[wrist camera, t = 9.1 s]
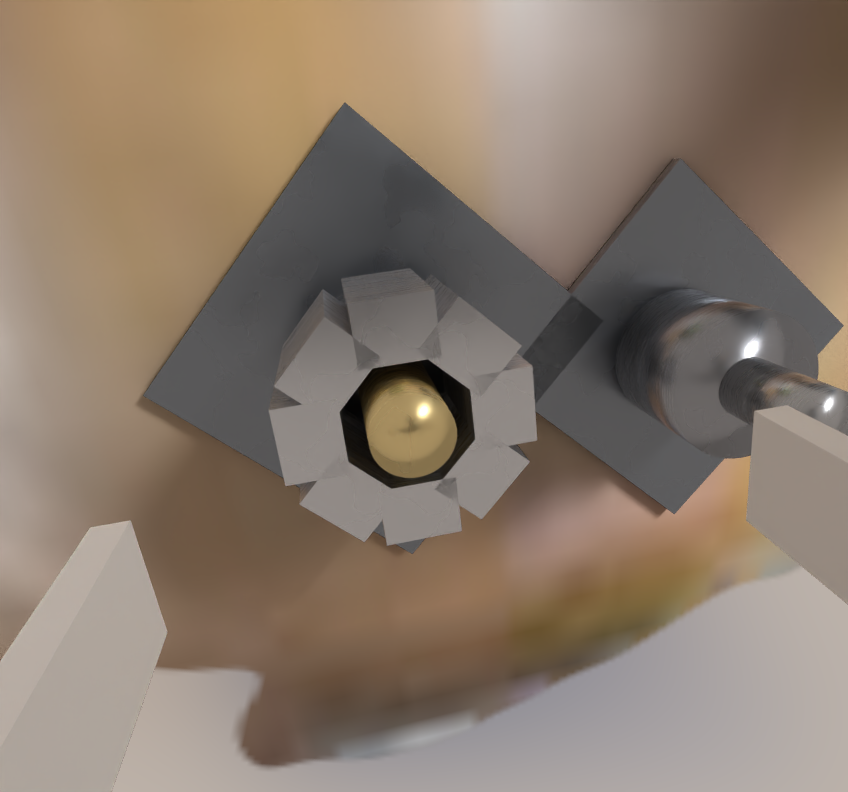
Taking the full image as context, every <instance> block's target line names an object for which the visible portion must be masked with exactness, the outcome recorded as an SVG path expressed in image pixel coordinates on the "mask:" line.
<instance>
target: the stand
mask: <svg viewBox="0 0 848 792" xmlns="http://www.w3.org/2000/svg"><path fill="white" fill-rule="evenodd" d="M568 292H570V293H571V294H572V297H571V298H572V299H573V301H574V299H575V298H576V300H575V301H576V302H575V301H574V302H575V303H578V302H579V301H580V302H579V303H583V304H584V305H582V304H579V303H578V305H576V304H575V303H573V301H572V300H571V298H570V301H568V304H570V303H569V302H571V301H572V302H571V303H572V304H573V305H572V304H570V305H568V306H567V304H565V303H566V302H567V301H566V302H565V303H564V304H565V305H566V308H567V307H569V306H570V307H571V309H569V308H570V307H569V308H567V309H568V313H567V312H565V311H567V309H565V305H564V304H563V305H564V306H562V308H564V312H565V316H564V314H563V311H561V310H560V309H559V311H558V312H559V313H558V312H557V313H558V315H559V314H560V312H561V313H562V314H563V316H564V318H565V320H566V319H567V316H566V314H567V315H568V318H569V317H573V318H574V317H575V316H576V315H577V314H576V315H575V313H576V312H577V313H578V311H576V310H574V311H576V312H575V313H574V312H573V311H572V312H573V315H574V316H572V314H571V313H572V312H570V313H569V310H572V309H573V308H574V307H575V306H578V308H576V307H575V309H578V310H579V309H580V308H579V307H580V306H583V307H584V306H586V307H584V308H583V307H581V308H583V309H584V310H585V311H586V312H585V311H583V310H581V309H580V312H581V313H582V311H583V313H582V315H584V318H585V317H586V316H587V317H588V316H589V315H590V314H589V313H588V312H589V311H588V310H590V311H591V312H592V313H593V315H592V313H591V312H590V313H591V315H590V316H589V318H588V319H587V320H588V321H590V322H591V323H592V321H593V320H591V319H590V317H591V318H592V319H594V321H597V320H595V318H593V317H597V318H596V319H598V320H600V319H601V320H600V321H599V323H601V324H600V326H598V325H599V323H598V325H597V324H596V323H597V322H596V323H595V324H594V321H593V323H592V324H593V326H594V328H596V329H594V328H593V327H592V325H590V324H591V323H590V324H589V323H588V321H587V323H586V321H585V319H586V318H585V319H584V318H582V317H583V316H582V317H581V316H580V314H581V313H580V312H579V313H578V315H577V316H576V317H577V318H578V316H579V318H578V319H577V318H576V317H575V318H576V319H577V320H578V321H576V322H579V324H578V323H576V322H575V324H576V325H577V326H578V325H579V326H580V328H581V327H583V326H584V327H586V328H587V327H588V326H586V324H588V325H590V326H591V327H590V326H589V327H588V328H587V330H588V329H589V328H591V329H592V332H591V329H589V330H588V332H587V330H586V328H585V330H586V332H585V333H583V332H584V331H585V330H583V329H584V327H583V329H581V330H582V331H580V335H581V334H582V335H583V334H585V335H586V336H588V340H587V339H586V338H585V336H584V335H583V336H580V335H579V333H578V332H579V330H580V328H577V327H574V329H575V328H576V329H575V330H576V331H571V330H570V329H572V328H573V327H571V328H570V329H566V328H567V326H568V327H570V326H569V324H570V325H571V324H572V325H573V326H576V325H575V324H573V323H574V322H573V323H572V322H571V321H570V320H571V319H570V318H569V319H567V320H569V323H568V321H566V324H567V326H566V325H565V324H562V321H560V320H562V318H563V317H561V316H560V315H562V314H560V315H559V316H558V315H555V316H558V317H561V319H560V318H559V319H560V320H559V319H558V317H556V318H555V319H554V318H552V320H551V321H550V323H551V324H550V323H549V324H548V325H550V326H551V325H552V326H551V329H550V326H549V327H548V325H547V327H548V328H549V329H548V328H547V327H546V328H547V329H546V328H545V329H546V331H547V332H546V333H545V331H543V332H542V333H540V334H541V335H540V336H541V337H542V335H543V333H544V334H546V335H547V336H546V337H544V336H545V335H543V338H546V339H547V338H548V336H549V335H550V336H551V335H552V336H553V338H552V337H550V336H549V337H550V338H548V339H549V342H548V340H546V339H545V341H546V344H547V345H548V346H550V347H552V346H553V345H550V344H553V343H551V342H553V341H554V340H553V341H551V340H552V339H555V337H556V336H557V337H559V339H560V338H561V339H560V340H558V341H557V339H555V340H556V341H557V342H559V341H560V344H561V342H562V340H563V339H564V340H565V343H567V342H568V343H567V344H569V345H570V343H569V342H571V341H573V344H574V343H575V340H576V339H578V338H575V336H576V335H575V334H577V336H580V337H581V338H582V337H584V338H582V339H581V338H579V339H578V341H577V340H576V341H577V342H579V341H580V339H581V342H583V343H584V342H585V340H587V341H586V342H585V344H582V343H581V344H580V343H579V345H581V347H582V348H580V346H579V345H578V343H576V344H575V345H576V346H577V345H578V346H577V347H575V346H573V344H571V345H572V346H573V348H572V349H570V348H571V347H572V346H571V345H570V346H569V345H566V344H565V345H564V346H565V347H564V346H563V344H564V343H563V342H564V340H563V342H562V343H563V344H561V345H562V346H561V345H560V346H561V347H562V349H561V350H560V351H561V352H560V351H559V350H558V351H559V353H562V351H564V350H565V351H566V350H568V351H569V349H570V350H571V351H569V352H568V351H566V353H569V354H570V355H569V354H568V355H569V356H565V355H566V353H564V354H563V355H564V356H565V358H567V357H568V358H567V359H569V357H570V356H571V357H570V358H571V359H572V360H570V359H569V360H570V361H568V362H567V360H565V358H564V359H563V358H562V357H564V356H563V355H562V354H561V355H560V354H558V352H556V351H557V349H560V347H559V346H558V344H559V343H558V344H557V343H556V341H555V343H554V344H556V346H558V347H557V348H556V347H555V346H554V347H555V353H556V354H557V356H560V357H561V356H562V357H561V358H562V359H563V360H564V362H565V363H566V364H565V365H564V363H562V362H561V361H560V360H562V359H560V360H558V358H560V357H557V356H554V359H553V357H551V356H550V355H549V353H550V352H551V353H552V354H553V355H555V353H554V352H552V351H553V350H554V349H553V348H554V347H553V348H552V349H553V350H552V349H551V348H549V347H548V349H550V350H548V349H545V350H547V351H545V350H544V349H543V347H542V346H543V345H544V348H545V346H546V344H545V341H544V343H543V340H544V339H543V338H540V337H539V338H540V341H541V342H540V343H543V345H542V344H541V346H540V343H538V341H539V338H538V337H537V338H536V339H537V340H536V339H535V341H534V342H535V343H536V342H537V343H538V344H536V345H535V343H534V344H533V343H532V346H530V347H529V348H531V347H533V346H534V345H535V346H536V347H537V345H539V346H540V347H541V350H539V349H540V347H539V346H538V347H539V349H538V351H539V352H540V353H539V352H538V351H536V350H535V349H534V347H533V348H532V349H531V350H530V349H529V348H528V349H527V350H530V351H531V352H530V351H528V352H527V351H526V357H525V354H524V356H523V357H524V359H525V360H526V358H527V359H529V358H528V357H527V356H528V355H529V354H527V353H530V354H531V353H532V350H534V351H536V352H537V353H536V352H535V353H536V356H537V357H540V358H541V357H543V356H542V355H543V352H542V351H543V350H544V351H545V352H547V354H546V353H545V355H544V357H543V359H542V358H541V361H542V362H543V361H544V362H545V363H544V362H543V364H544V365H543V364H542V362H541V361H540V358H539V359H538V358H535V355H533V354H534V352H533V353H532V354H531V355H533V356H532V357H534V358H535V359H536V361H534V360H532V359H534V358H532V359H531V361H529V360H527V362H529V364H530V362H531V363H532V362H533V364H534V363H535V362H537V364H538V362H539V363H540V364H542V366H543V367H544V366H545V364H546V365H547V364H548V363H549V361H550V359H549V358H548V356H546V355H549V356H550V358H551V362H550V365H549V364H548V365H547V367H548V366H549V367H548V370H549V371H550V372H549V371H548V370H547V367H546V369H544V368H545V367H544V368H543V367H542V366H541V368H543V369H544V370H545V371H544V370H543V369H542V370H541V368H539V367H538V365H537V364H536V363H535V365H537V367H536V366H535V365H533V364H531V365H532V366H533V368H534V370H535V368H536V369H537V372H538V373H539V372H540V371H538V369H540V370H541V377H540V376H539V377H540V379H539V377H538V373H535V372H536V371H535V372H534V370H533V374H534V373H535V375H536V376H537V378H538V380H537V381H536V383H537V382H538V383H537V384H539V382H540V381H542V382H540V384H541V383H543V384H544V383H545V382H543V380H542V379H543V378H544V377H543V378H542V376H544V375H545V374H546V376H548V377H549V375H548V374H550V375H551V378H552V377H553V379H555V381H554V380H553V379H552V380H553V381H554V382H553V381H552V380H551V378H547V377H546V376H545V377H546V378H547V379H550V380H544V381H546V382H547V383H549V382H548V381H551V382H552V384H551V382H550V383H549V386H550V387H549V388H547V387H548V386H546V385H548V384H547V383H545V387H544V386H539V385H540V384H539V385H536V384H534V386H536V387H535V388H534V389H536V388H537V389H536V390H540V389H541V390H542V388H541V387H543V389H544V392H545V393H544V392H543V391H541V390H540V391H541V394H542V396H541V395H540V393H539V392H538V391H534V392H535V394H536V396H537V395H540V396H539V397H538V396H537V397H536V396H535V395H534V396H535V398H536V399H537V400H536V399H535V400H536V401H537V403H536V402H535V403H536V404H535V411H536V412H537V413H538V414H540V415H541V416H542V417H544V418H545V419H546V420H548V421H549V422H551V423H552V424H553V425H555V426H556V427H557V428H559V429H560V430H561V431H563V432H564V433H565V434H567V435H568V436H569V437H571V438H572V439H573V440H575V441H576V442H578V443H579V444H580V445H582V446H583V447H584V448H586V449H587V450H588V451H590V452H591V453H592V454H594V455H595V456H596V457H598V458H599V459H600V460H602V461H603V462H605V463H606V464H607V465H609V466H610V467H611V468H613V469H614V470H615V471H617V472H618V473H619V474H621V475H622V476H623V477H625V478H626V479H628V480H629V481H630V482H632V483H633V484H634V485H636V486H637V487H638V488H640V489H641V490H642V491H644V492H645V493H646V494H648V495H649V496H650V497H652V498H653V499H655V500H656V501H657V502H659V503H660V504H661V505H663V506H664V507H665V508H667V509H668V510H669V511H671V512H672V513H673V514H675V513H676V512H677V511H678V509H679V508H680V507H681V506H682V505H683V504H684V503H685V502H686V501H687V499H688V498H689V497H690V496H691V495H692V494H693V493H694V492H695V491H696V489H697V488H698V487H699V486H700V485H701V484H702V483H703V482H704V481H705V479H706V478H707V477H708V476H709V475H710V474H711V473H712V472H713V471H714V469H715V468H716V467H717V466H718V465H719V464H720V463H721V462H722V461H723V459H724V458H741V457H746V456H750V455H751V448H752V434H753V420H754V411H757V410H763V409H768V408H774V407H780V406H785V405H788V406H790V407H792V408H794V409H796V410H798V411H800V412H802V413H804V414H806V415H807V416H809V417H811V418H813V419H815V420H817V421H819V422H821V423H823V424H825V425H827V426H829V427H831V428H833V429H835V430H837V431H839V432H841V433H843V434H845V435H847V436H848V392H846V391H844V390H841V389H839V388H836V387H834V386H831V385H829V384H826V383H823V382H821V381H818V380H817V378H818V356H817V355H818V354H819V353H820V352H821V350H822V349H823V348H824V347H825V346H826V345H827V344H828V343H829V342H830V340H831V339H832V338H833V337H834V336H835V335H836V334H837V333H838V332H839V330H840V329H841V328H842V327H843V326H844V325H843V324H842V323H841V322H840V321H839V320H838V319H837V318H836V317H835V316H834V315H833V314H832V313H831V312H830V311H829V310H828V309H827V308H826V307H825V306H824V305H823V304H822V303H821V302H820V301H819V300H818V299H817V298H816V297H815V296H814V295H813V294H812V293H811V292H810V291H809V290H808V289H807V288H806V287H805V285H804V284H803V283H802V282H801V281H800V280H799V279H798V278H797V277H796V276H795V275H794V274H793V273H792V272H791V271H790V270H789V269H788V268H787V267H786V266H785V265H784V264H783V263H782V262H781V261H780V260H779V259H778V258H777V257H776V256H775V255H774V254H773V253H772V252H771V251H770V250H769V249H768V248H767V247H766V245H765V244H764V243H763V242H762V241H761V240H760V239H759V238H758V237H757V236H756V235H755V234H754V233H753V232H752V231H751V230H750V229H749V228H748V227H747V226H746V225H745V224H744V223H743V222H742V221H741V220H740V219H739V218H738V217H737V216H736V215H735V214H734V213H733V212H732V211H731V210H730V209H729V208H728V206H727V205H726V204H725V203H724V202H723V201H722V200H721V199H720V198H719V197H718V196H717V195H716V194H715V193H714V192H713V191H712V190H711V189H710V188H709V187H708V186H707V185H706V184H705V183H704V182H703V181H702V180H701V179H700V178H699V177H698V176H697V175H696V174H695V173H694V172H693V171H692V170H691V169H690V168H689V166H688V165H687V164H686V163H685V162H684V161H683V160H682V159H681V158H680V159H673V160H672V161H671V162H670V163H669V165H668V166H667V167H666V168H665V170H664V171H663V172H662V173H661V175H660V176H659V177H658V178H657V180H656V181H655V182H654V183H653V185H652V186H651V187H650V188H649V190H648V191H647V192H646V193H645V195H644V196H643V197H642V198H641V200H640V201H639V202H638V203H637V205H636V206H635V207H634V208H633V210H632V211H631V212H630V213H629V215H628V216H627V217H626V218H625V220H624V221H623V222H622V223H621V225H620V226H619V227H618V228H617V230H616V231H615V232H614V233H613V235H612V236H611V237H610V238H609V240H608V241H607V242H606V243H605V245H604V246H603V247H602V248H601V250H600V251H599V252H598V253H597V255H596V256H595V257H594V258H593V260H592V261H591V262H590V263H589V265H588V266H587V267H586V268H585V270H584V271H583V272H582V273H581V275H580V276H579V277H578V278H577V280H576V281H575V282H574V283H573V285H572V286H571V287H570V288H569V290H568ZM568 299H569V298H568ZM577 300H579V301H577ZM574 304H575V305H574ZM571 305H572V306H574V307H573V308H572V306H571ZM585 308H588V309H587V310H586V309H585ZM584 312H585V313H588V315H586V314H585V313H584ZM570 314H571V315H570ZM594 314H595V316H594ZM555 316H554V317H555ZM592 316H593V317H592ZM598 317H599V318H600V319H599V318H598ZM573 318H572V320H573ZM580 318H581V319H583V320H582V321H583V322H584V323H582V322H581V321H579V320H580ZM553 319H554V320H553ZM556 319H557V321H558V322H559V324H558V323H557V322H556V323H555V321H556ZM576 319H574V320H573V321H575V320H576ZM589 319H590V320H589ZM602 320H603V321H602ZM553 321H554V323H555V324H557V326H558V325H560V326H558V327H559V329H561V330H560V331H562V332H560V331H559V329H558V330H557V327H556V326H555V324H554V323H552V322H553ZM563 321H564V319H563ZM580 322H581V323H582V324H580ZM560 323H561V324H562V325H563V327H564V329H565V331H566V330H567V332H569V331H570V332H569V334H570V336H571V333H572V332H573V333H572V338H573V339H574V338H575V339H574V340H571V337H570V336H569V337H566V336H567V335H569V334H567V333H565V331H563V330H564V329H563V328H562V327H561V326H562V325H561V324H560ZM563 323H565V322H563ZM585 323H586V324H585ZM553 324H554V326H555V327H556V328H555V327H554V326H553ZM583 324H585V325H583ZM581 325H583V326H581ZM595 325H597V326H596V327H595ZM565 326H566V328H565ZM579 326H578V327H579ZM552 327H554V329H555V331H557V332H558V331H559V334H560V333H561V334H560V335H562V336H561V337H560V336H558V333H557V335H556V333H555V332H554V331H553V329H552ZM560 327H561V328H560ZM562 329H563V330H562ZM543 330H544V329H543ZM549 330H550V332H549V335H548V334H547V333H548V331H549ZM572 330H573V329H572ZM577 330H578V332H577ZM593 330H594V331H595V332H594V331H593ZM551 331H552V333H554V335H553V334H552V333H551ZM575 332H576V333H575ZM589 332H591V333H590V334H592V336H590V337H589V335H588V334H589ZM562 333H565V334H566V336H565V335H564V334H562ZM574 333H575V334H574ZM573 334H574V336H573ZM555 335H556V336H555ZM563 335H564V336H563ZM554 336H555V337H554ZM577 336H576V337H577ZM562 337H563V339H562ZM551 338H552V339H551ZM567 338H570V339H569V340H568V339H567ZM566 339H567V340H566ZM583 339H584V340H583ZM566 341H567V342H566ZM548 343H550V344H548ZM582 345H583V346H582ZM566 346H569V347H567V348H566ZM536 347H535V348H536ZM538 347H537V348H538ZM537 348H536V349H537ZM546 348H547V346H546ZM576 348H578V349H579V351H578V349H576ZM563 349H564V350H563ZM573 349H574V352H576V351H577V352H578V353H577V352H576V353H577V354H576V355H575V353H574V352H573ZM575 349H576V351H575ZM549 351H550V352H549ZM565 351H564V352H565ZM538 353H539V354H542V355H541V356H539V355H538ZM551 353H550V354H551ZM571 353H572V354H571ZM531 355H530V356H531ZM530 356H529V357H530ZM545 357H547V358H548V359H547V360H548V363H547V361H545V360H544V359H546V358H545ZM556 357H557V362H556V363H555V361H556V359H555V358H556ZM572 357H573V358H572ZM530 358H531V357H530ZM537 360H539V361H537ZM552 360H554V362H553V364H554V363H555V364H558V365H559V366H558V367H559V368H560V369H561V368H562V367H561V366H563V368H562V369H561V370H560V369H559V370H558V367H557V366H556V365H555V366H556V367H557V368H556V369H554V368H552V367H555V366H553V364H552ZM563 360H562V361H563ZM558 361H559V362H560V364H559V362H558ZM561 363H562V365H561ZM567 363H568V364H567ZM551 365H552V366H551ZM560 365H561V366H560ZM539 366H540V365H539ZM550 366H551V367H550ZM565 366H566V367H565ZM549 368H550V369H551V368H552V369H551V370H550V369H549ZM564 368H565V369H564ZM556 370H557V371H558V372H559V371H562V370H563V371H562V372H559V373H560V375H559V376H558V375H557V374H558V372H557V371H556ZM546 371H547V372H546ZM551 371H554V372H555V371H556V373H557V374H556V373H555V374H556V376H558V377H557V378H556V376H555V374H554V372H553V374H554V375H553V376H552V374H551V373H552V372H551ZM543 372H546V373H544V374H543V375H542V373H543ZM548 372H549V373H548ZM539 374H540V373H539ZM534 377H535V376H533V379H534V382H535V380H536V379H537V378H536V379H535V378H534ZM554 377H555V378H554ZM541 378H542V379H541ZM539 380H540V381H539ZM538 387H540V388H539V389H538ZM546 388H547V389H546ZM537 393H538V394H537ZM543 393H544V394H543ZM540 397H541V398H540ZM538 398H540V399H538Z"/></svg>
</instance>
